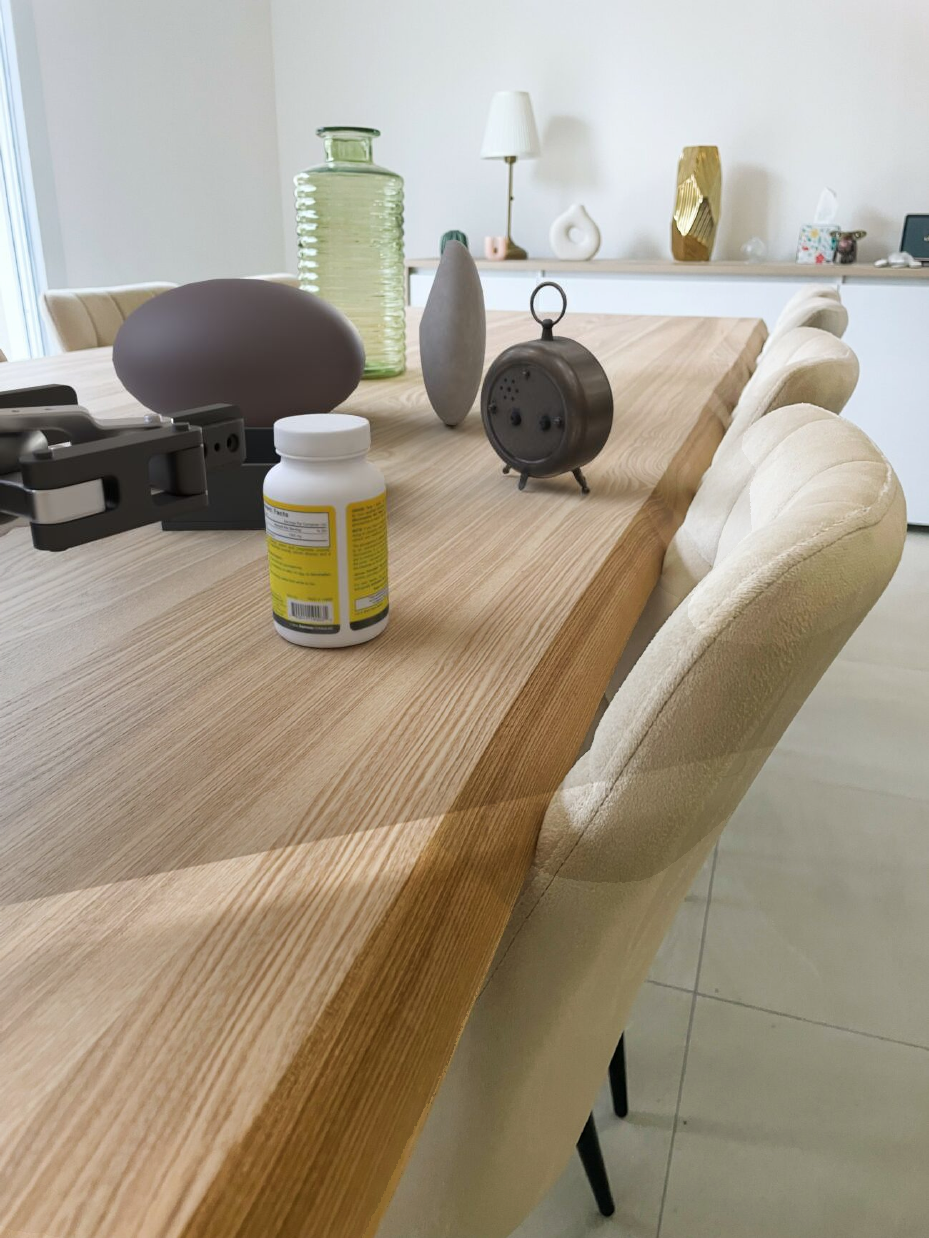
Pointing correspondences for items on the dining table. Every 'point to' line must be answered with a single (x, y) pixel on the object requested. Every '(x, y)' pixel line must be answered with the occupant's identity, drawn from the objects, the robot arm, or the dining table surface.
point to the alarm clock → (547, 404)
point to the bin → (235, 490)
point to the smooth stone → (239, 351)
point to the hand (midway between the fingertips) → (150, 421)
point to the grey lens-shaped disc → (453, 335)
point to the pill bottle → (326, 532)
